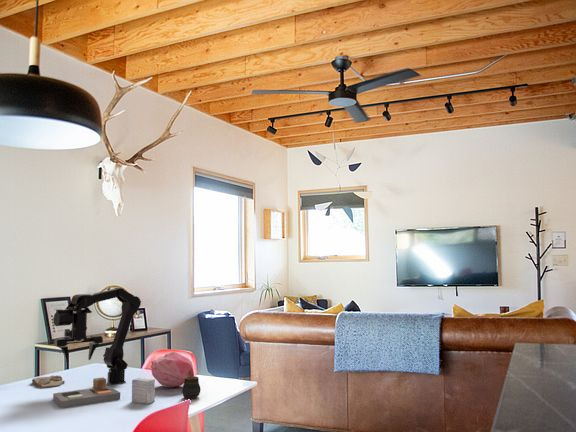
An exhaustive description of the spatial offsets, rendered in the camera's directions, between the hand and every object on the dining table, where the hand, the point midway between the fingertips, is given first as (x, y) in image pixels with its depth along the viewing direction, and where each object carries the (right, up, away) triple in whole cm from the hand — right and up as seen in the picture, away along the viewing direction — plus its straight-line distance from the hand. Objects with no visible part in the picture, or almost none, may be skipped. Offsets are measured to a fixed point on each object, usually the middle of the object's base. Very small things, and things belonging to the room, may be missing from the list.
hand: (78, 361), depth 227 cm
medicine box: (+33, -11, -19) cm, 40 cm away
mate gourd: (+50, -11, -13) cm, 53 cm away
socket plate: (+10, -11, -16) cm, 22 cm away
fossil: (-18, -13, +10) cm, 24 cm away
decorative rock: (+39, -13, +5) cm, 41 cm away
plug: (+13, -11, -11) cm, 20 cm away
